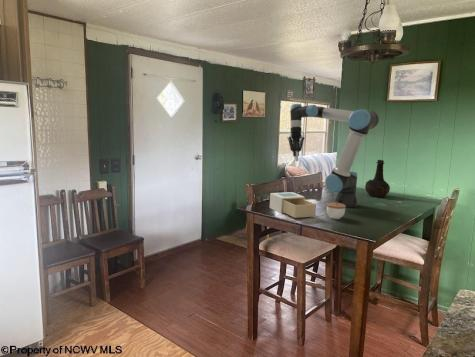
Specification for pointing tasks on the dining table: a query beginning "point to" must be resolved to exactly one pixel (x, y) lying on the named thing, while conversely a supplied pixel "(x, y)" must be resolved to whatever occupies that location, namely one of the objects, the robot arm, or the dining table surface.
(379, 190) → the glass bottle
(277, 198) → the cream box
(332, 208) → the lidded jar
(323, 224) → the dining table surface
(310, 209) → the tray
